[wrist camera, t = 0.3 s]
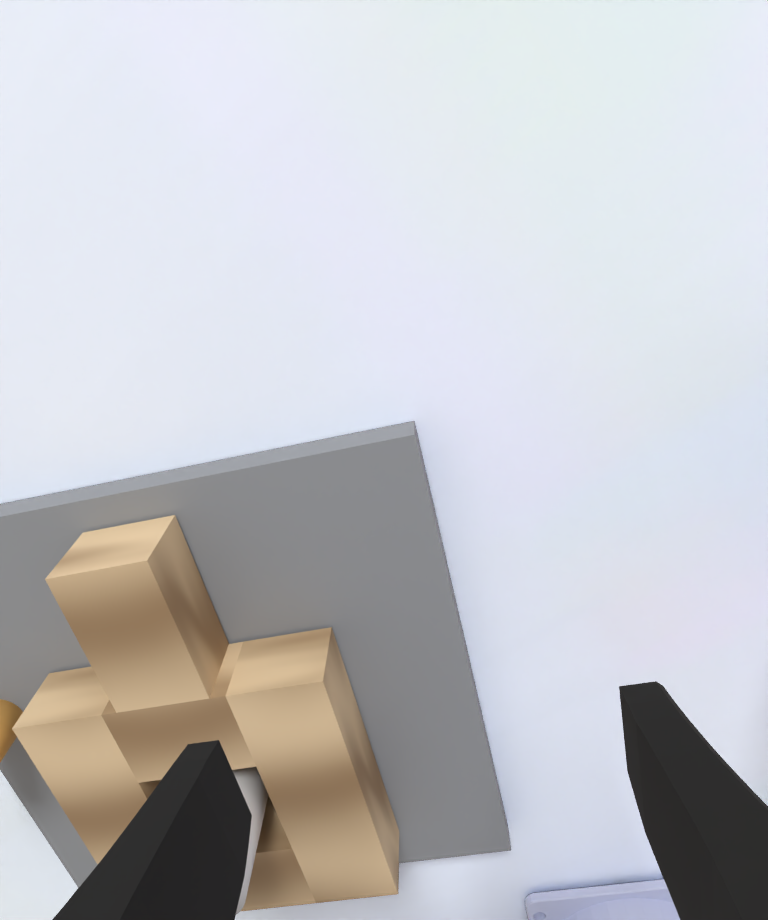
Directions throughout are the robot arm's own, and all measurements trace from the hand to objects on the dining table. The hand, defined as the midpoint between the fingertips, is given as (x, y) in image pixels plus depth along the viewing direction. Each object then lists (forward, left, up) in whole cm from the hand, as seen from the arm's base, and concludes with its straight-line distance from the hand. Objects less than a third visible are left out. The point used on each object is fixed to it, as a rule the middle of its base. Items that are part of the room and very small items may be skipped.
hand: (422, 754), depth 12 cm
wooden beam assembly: (-6, +9, -9) cm, 14 cm away
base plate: (-7, +9, -10) cm, 15 cm away
